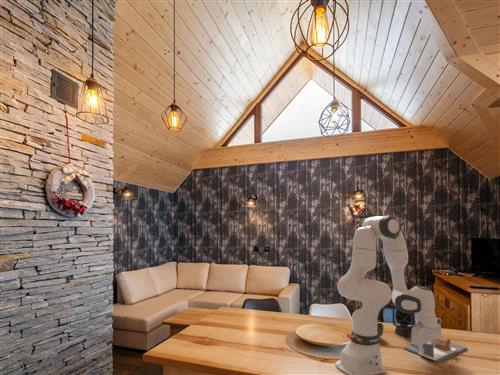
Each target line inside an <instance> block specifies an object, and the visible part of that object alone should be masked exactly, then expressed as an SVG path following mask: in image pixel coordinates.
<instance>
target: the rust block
mask: <svg viewBox="0 0 500 375" xmlns="http://www.w3.org/2000/svg"><path fill="white" fill-rule="evenodd" d="M450 342H451V338H449V337H446V336H444V335H441V337H440V338H437V339H436V344H435V348H438V349H441V350H443V351H448V350H450V349H451V343H450Z"/></svg>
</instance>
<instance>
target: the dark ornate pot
mask: <svg viewBox="0 0 500 375" xmlns="http://www.w3.org/2000/svg"><path fill="white" fill-rule="evenodd" d="M377 330H378V334H379V340H380V339H381V336H383V334H384V333H383V332H384V324H383V323H382V322H380V323H379V321H377Z"/></svg>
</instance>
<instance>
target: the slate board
mask: <svg viewBox="0 0 500 375" xmlns="http://www.w3.org/2000/svg"><path fill="white" fill-rule="evenodd" d="M450 343H451V347H452V348H455V349H457V351H455V352H453V353H451V354H449V355H447V356H445V357H442V358H440V359H438V360H433V359H430V358H428V357H425V356H423V355H420V354H419V348H418V347H417V346H414V345H411V344H409V345H406V346H404V347H403V350H405V351H408V352H410V353H411V354H412V353H413V354H416V355H418V356H420V357H423V358H426V359H428V360H431V361H433V362H435V363H438V364H440V363H441V362H444V361H446V360H448V359H450V358H452V357H454V356H456V355H459V354H461V353H463V352H465V351H466V350H468V346H464V345H461V344H458V343H455V342H451V341H450Z"/></svg>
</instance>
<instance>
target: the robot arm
mask: <svg viewBox="0 0 500 375" xmlns="http://www.w3.org/2000/svg"><path fill="white" fill-rule="evenodd" d="M358 224H359V225H358V228H356V229H355V232H354V236H353V239H352V240H353V241H352V252H351V255H352V256H351V263H350V267H349V269H348V270H347V272H346V273H345V274H344V275H343V276H342V277H340V278H339V279H338V281H337V287H336V288H337V291H338V293H339V295H340V296H342V297H344V298H346V299H348V300H352V301H356V302H360V303H361V304H362V305H361V308H360V307H359V309H356V310H354V312H352V316H351V317H352V318H351V320H352V321H351V322H352V329H351V333H349V332H347V333H346V338H348V339H349V341H348V343H347V344H346V345H345V346H344V348H342V350H341V353H340V359H339V360H337V361H336V362H335V364H334V366H335V368H337V369H338V370H339V371H341V372H343V373H344V374H347V375H379V374H384V373H386V368H385V367H384V363H383V362H384V361H383V357H382V351H381V348H380V344H379V343H380V339H379V334H378V330H377V324H378V317H379V315H380V312H381V310H382V309H383V308H384V307H386V306H387V305H388V304H389V303H390V302H393V303H394V304H395V305H394V307H396V310H397V309H398V310H399V311H401V312H403V313H411V314H412V313H414V317H415V324H414V327H413V328H412V333H411V337H410V338H411V342H412V343H413V344H416V345H417V346H418V348H419V352H420V353H424V352H425V350H424V349H423V344H425V343H427V342H430V341H431V344H430V345H433V349H434V348H435V344H436V339H437V338H440V337H441V336H442V326H441V325H442V319H441V318H440V317H436V316H437V315H436V312H435V308H436V304H435V296H434V293H433V291H432V290H431V289H430V288H429V287H425V286H424V285H423V286H422V285H415V286H414V287H412V288H410V289H408V287H407V288H406V286H407V285H406V284H407V283H406V279H405V277H406V276H405V267H406V266H407V265H408V263H409V254H408V248H407V246H408V245H407V242H406V239H405V237H404V234H403V231H402V230H401V225H400V222H399V221H398V219H397V218H395V217H394V216H391V215H381V216H380V215H375V216H370V217H369V216H368V217H364V218H363V219H362V220H360V222H359V223H358ZM378 239H381V241H382V246H383V247H382V248H383V254H384V257H385V260H386V262H387V266H388V267H389V270H390V277H391V283H392V289H391V287H390V286H389V285H388V284H387V283H386V282H383V281H380V280H377V279H369V278H365V277H366V274H367V273H368V272H370V271H373V269H375V268H376V266H377V240H378Z"/></svg>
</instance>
